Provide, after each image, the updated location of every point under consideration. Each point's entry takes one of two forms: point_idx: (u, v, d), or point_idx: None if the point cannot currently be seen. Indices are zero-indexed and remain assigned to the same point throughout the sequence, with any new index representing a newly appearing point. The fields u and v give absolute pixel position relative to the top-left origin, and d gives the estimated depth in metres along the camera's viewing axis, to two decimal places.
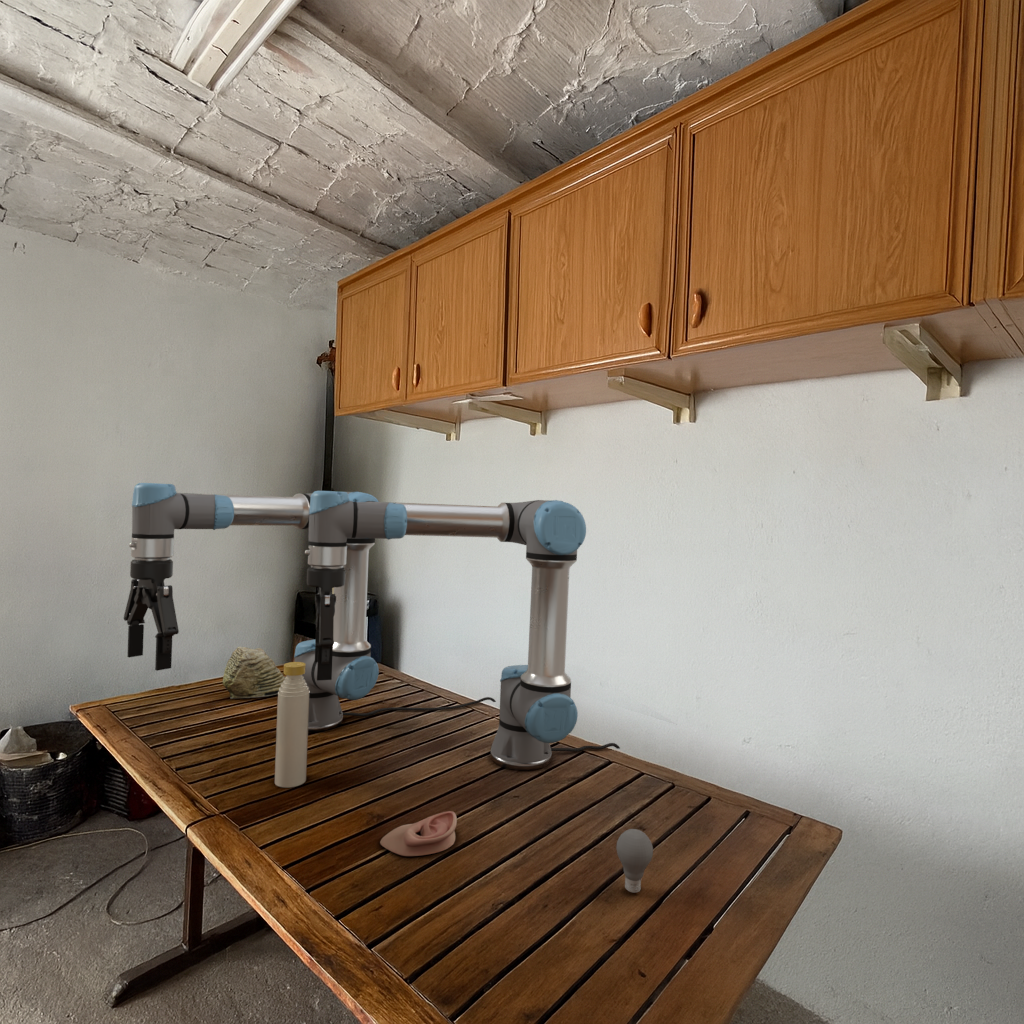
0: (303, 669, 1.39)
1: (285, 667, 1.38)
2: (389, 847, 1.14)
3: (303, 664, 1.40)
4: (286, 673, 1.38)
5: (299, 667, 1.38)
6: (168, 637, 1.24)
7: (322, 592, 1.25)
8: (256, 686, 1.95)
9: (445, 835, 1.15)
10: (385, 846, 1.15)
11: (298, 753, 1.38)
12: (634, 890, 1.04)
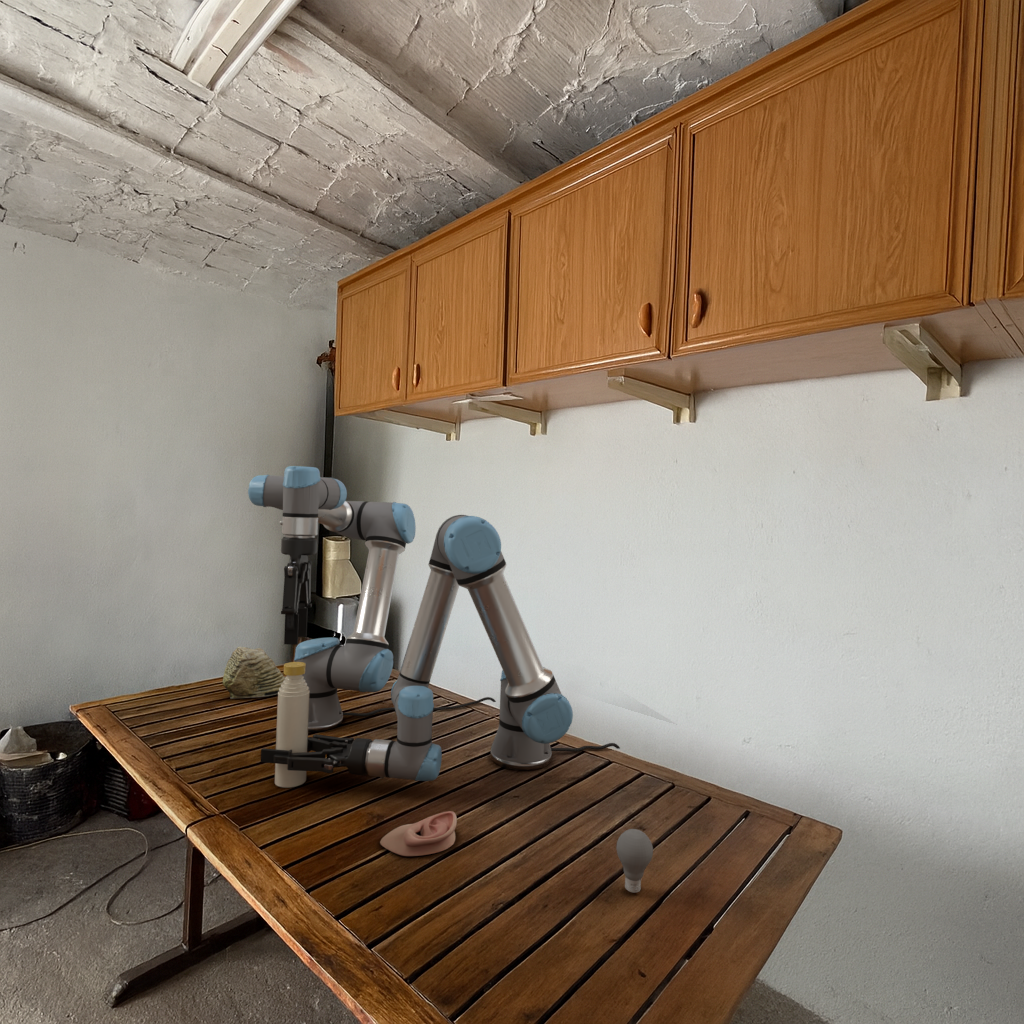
0: (303, 669, 1.39)
1: (285, 667, 1.38)
2: (389, 847, 1.14)
3: (303, 664, 1.40)
4: (286, 673, 1.38)
5: (299, 667, 1.38)
6: (290, 615, 1.34)
7: None
8: (256, 686, 1.95)
9: (445, 835, 1.15)
10: (385, 846, 1.15)
11: None
12: (634, 890, 1.04)
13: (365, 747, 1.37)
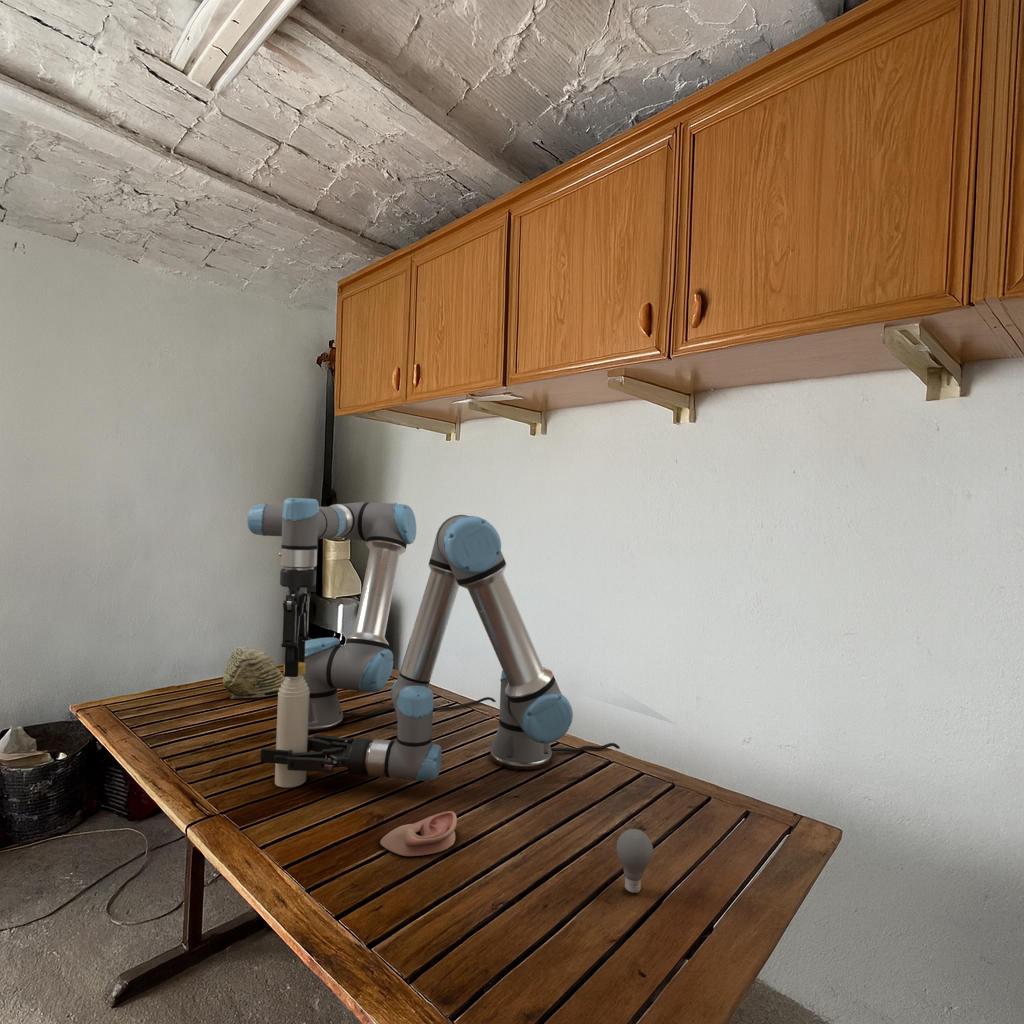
0: (303, 669, 1.39)
1: None
2: (389, 847, 1.14)
3: (303, 664, 1.40)
4: None
5: (299, 667, 1.38)
6: (290, 648, 1.36)
7: None
8: (256, 686, 1.95)
9: (445, 835, 1.15)
10: (385, 846, 1.15)
11: None
12: (634, 890, 1.04)
13: (365, 747, 1.37)
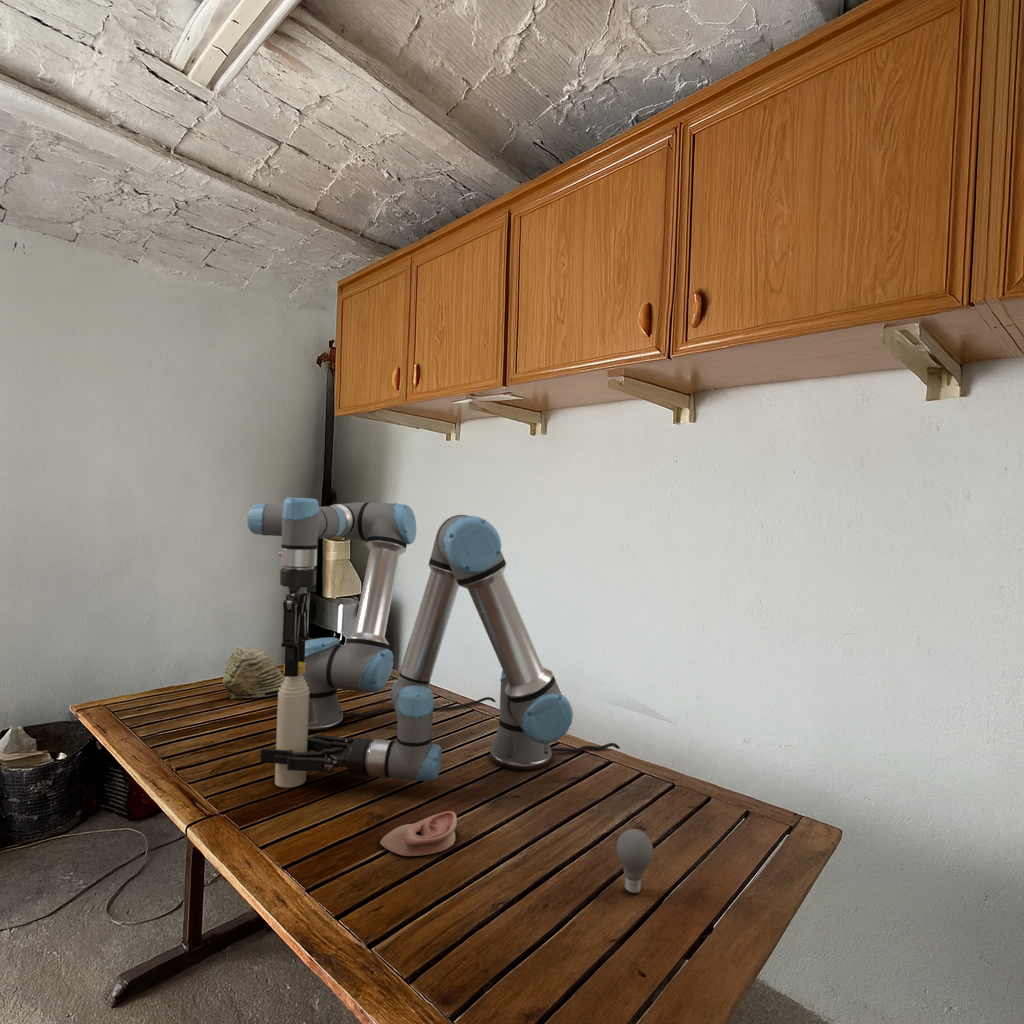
0: None
1: (299, 667, 1.38)
2: (389, 847, 1.14)
3: None
4: (301, 672, 1.39)
5: None
6: (290, 648, 1.36)
7: None
8: (256, 686, 1.95)
9: (445, 835, 1.15)
10: (385, 846, 1.15)
11: None
12: (634, 890, 1.04)
13: (365, 747, 1.37)
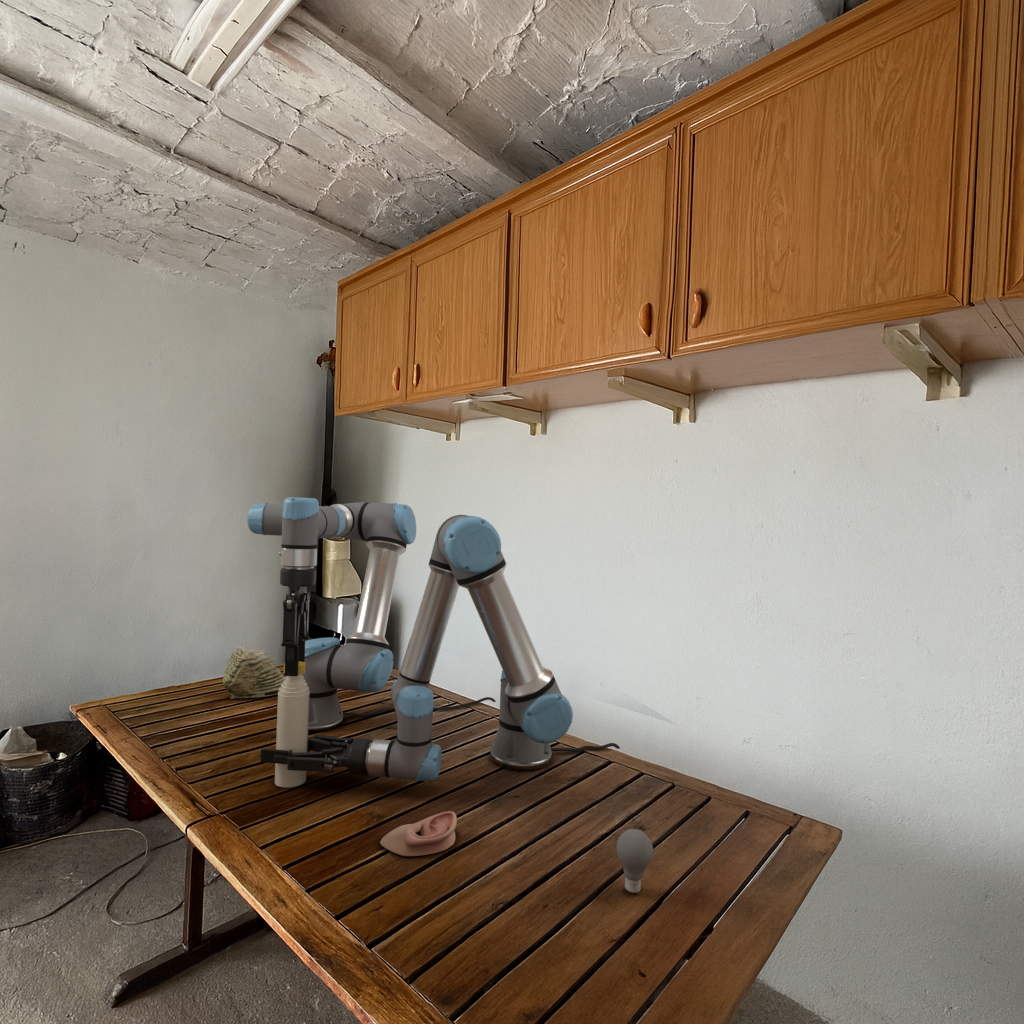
0: None
1: None
2: (389, 847, 1.14)
3: None
4: None
5: None
6: (290, 647, 1.36)
7: None
8: (256, 686, 1.95)
9: (445, 835, 1.15)
10: (385, 846, 1.15)
11: None
12: (634, 890, 1.04)
13: (365, 747, 1.37)
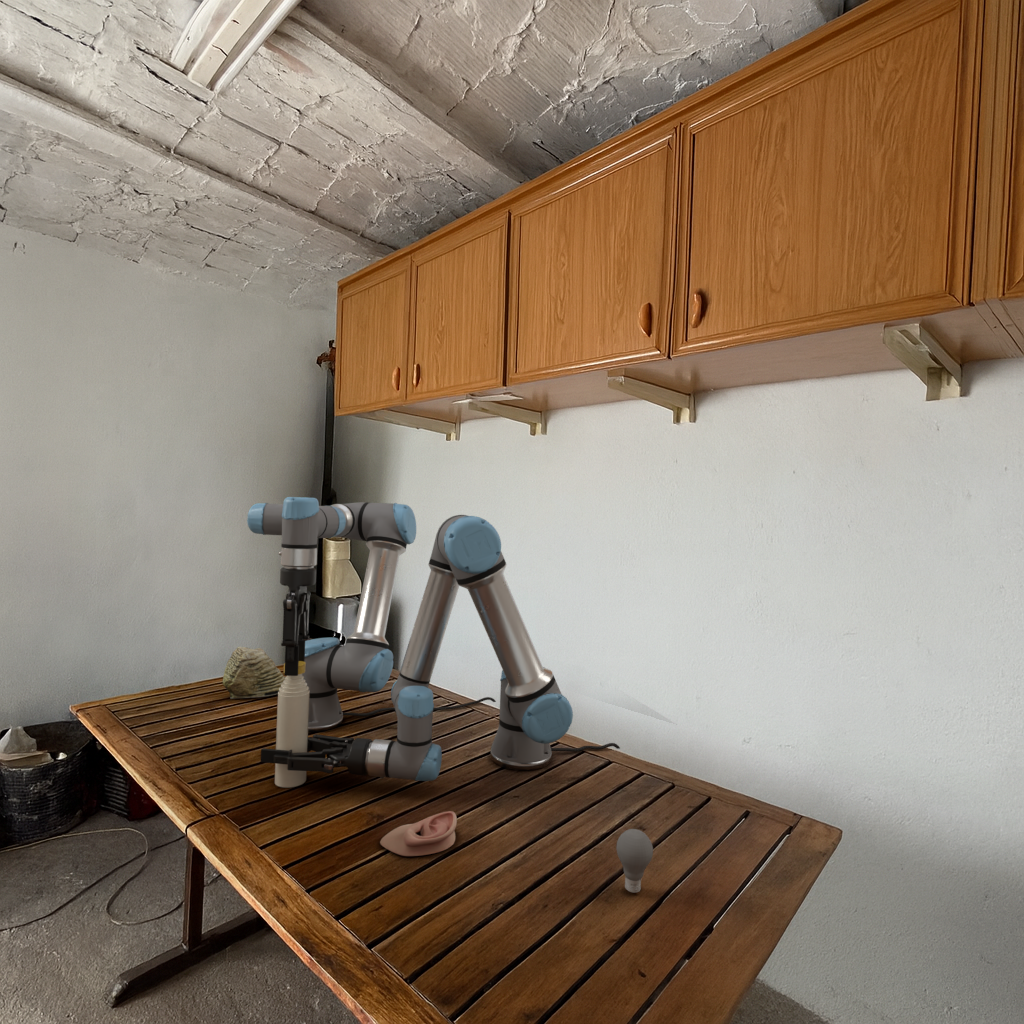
0: None
1: None
2: (389, 847, 1.14)
3: None
4: None
5: (284, 665, 1.39)
6: (290, 647, 1.36)
7: None
8: (256, 686, 1.95)
9: (445, 835, 1.15)
10: (385, 846, 1.15)
11: None
12: (634, 890, 1.04)
13: (365, 747, 1.37)
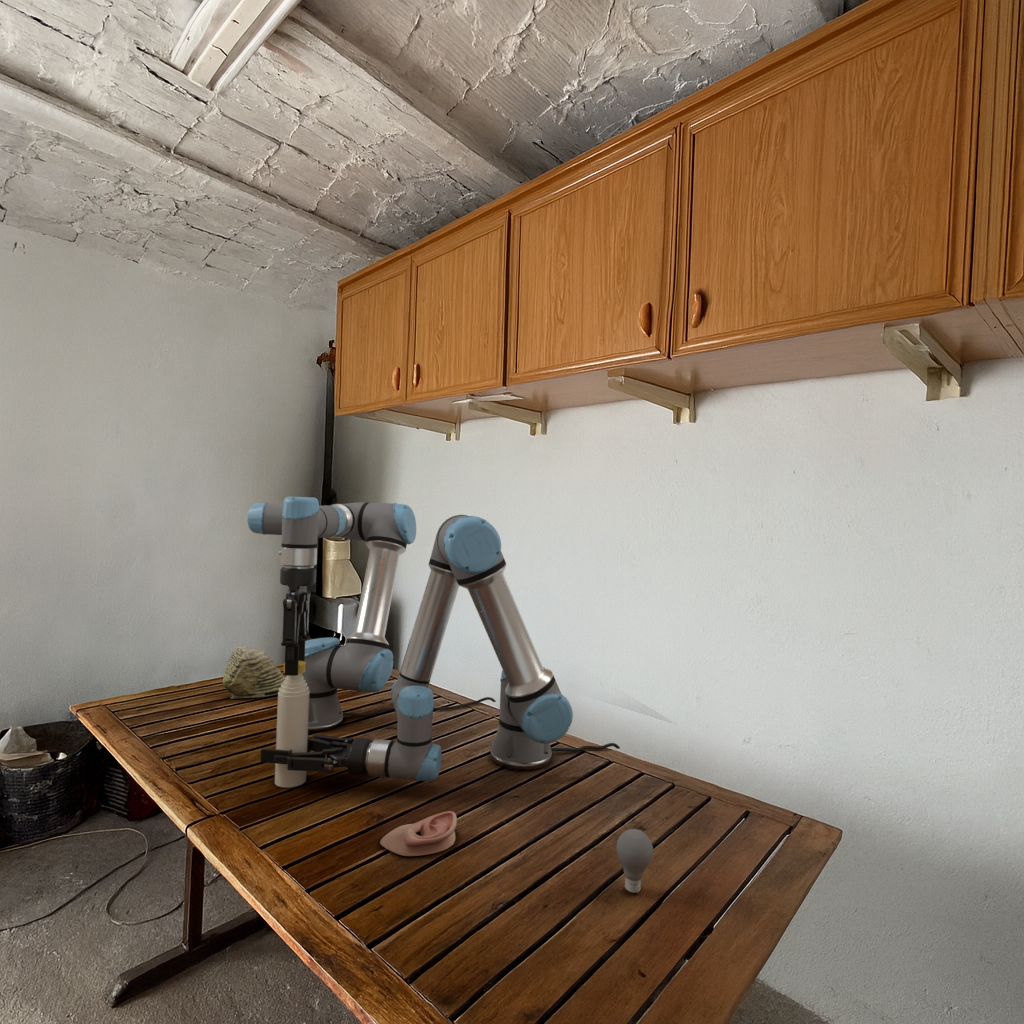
0: (301, 668, 1.39)
1: (284, 665, 1.39)
2: (389, 847, 1.14)
3: (302, 663, 1.40)
4: (284, 671, 1.39)
5: None
6: (290, 646, 1.36)
7: None
8: (256, 686, 1.95)
9: (445, 835, 1.15)
10: (385, 846, 1.15)
11: None
12: (634, 890, 1.04)
13: (365, 747, 1.37)
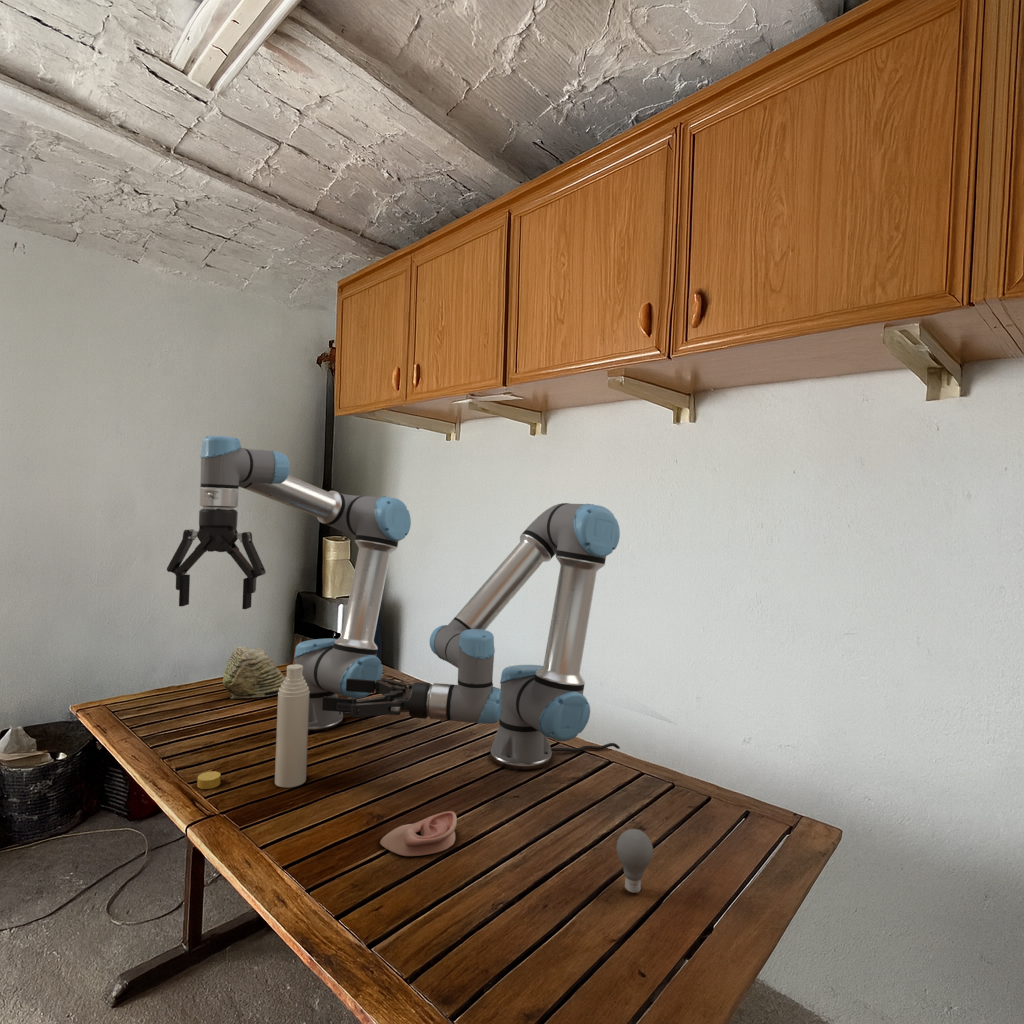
0: None
1: (209, 781, 1.35)
2: (389, 847, 1.14)
3: (215, 772, 1.39)
4: (211, 786, 1.35)
5: (220, 775, 1.38)
6: (255, 578, 1.36)
7: None
8: (256, 686, 1.95)
9: (445, 835, 1.15)
10: (385, 846, 1.15)
11: (298, 753, 1.38)
12: (634, 890, 1.04)
13: (426, 690, 1.35)
